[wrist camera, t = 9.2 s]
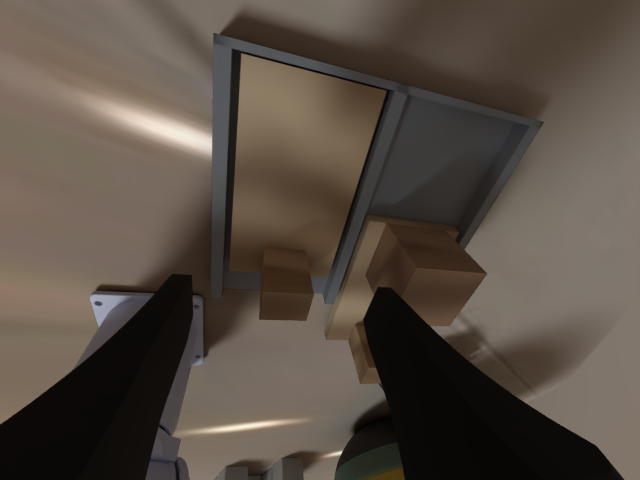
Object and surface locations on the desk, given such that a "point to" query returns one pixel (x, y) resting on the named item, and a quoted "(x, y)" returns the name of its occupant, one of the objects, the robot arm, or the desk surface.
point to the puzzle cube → (282, 476)
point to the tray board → (377, 161)
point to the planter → (371, 455)
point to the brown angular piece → (364, 293)
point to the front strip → (295, 176)
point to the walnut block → (425, 271)
